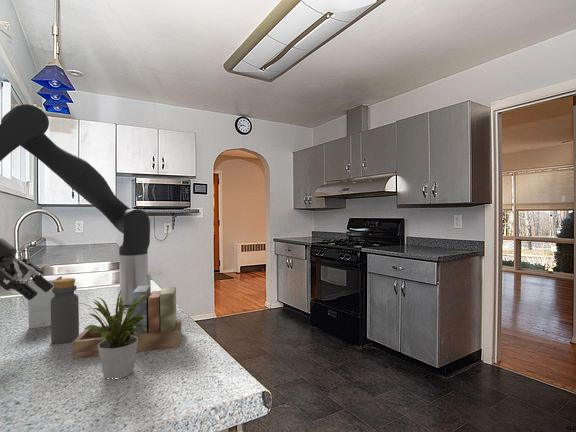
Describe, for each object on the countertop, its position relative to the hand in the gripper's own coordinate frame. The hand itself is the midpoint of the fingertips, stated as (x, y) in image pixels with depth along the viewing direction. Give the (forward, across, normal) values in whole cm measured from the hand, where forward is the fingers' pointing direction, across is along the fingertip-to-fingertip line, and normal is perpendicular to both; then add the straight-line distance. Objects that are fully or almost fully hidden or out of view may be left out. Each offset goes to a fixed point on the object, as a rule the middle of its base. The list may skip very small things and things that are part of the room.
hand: (42, 292), depth 83 cm
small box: (+4, +17, +13) cm, 22 cm away
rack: (+24, -8, -7) cm, 26 cm away
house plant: (+24, -24, -6) cm, 34 cm away
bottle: (+12, 0, +6) cm, 13 cm away
